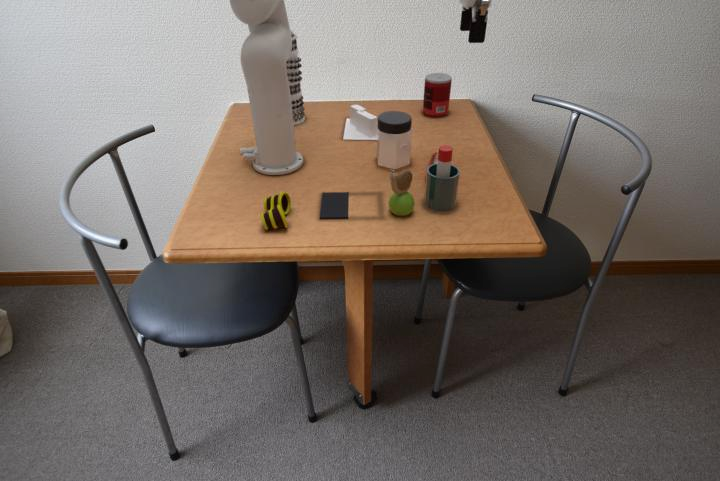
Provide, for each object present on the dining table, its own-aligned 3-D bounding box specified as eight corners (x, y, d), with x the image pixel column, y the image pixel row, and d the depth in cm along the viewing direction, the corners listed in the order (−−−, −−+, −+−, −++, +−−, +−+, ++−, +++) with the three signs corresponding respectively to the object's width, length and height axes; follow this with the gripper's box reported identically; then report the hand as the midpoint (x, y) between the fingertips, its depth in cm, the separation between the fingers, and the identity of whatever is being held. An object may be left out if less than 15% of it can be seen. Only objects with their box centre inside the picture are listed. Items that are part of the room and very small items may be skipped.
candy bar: (432, 157, 122) (433, 147, 120) (446, 159, 121) (448, 148, 119) (423, 189, 109) (424, 177, 108) (438, 191, 109) (440, 179, 107)
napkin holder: (384, 139, 131) (384, 120, 127) (343, 139, 131) (342, 119, 128) (383, 118, 143) (384, 99, 139) (346, 118, 143) (345, 99, 140)
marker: (434, 206, 103) (439, 151, 95) (432, 199, 105) (437, 145, 97) (447, 205, 103) (453, 151, 95) (445, 199, 105) (451, 145, 97)
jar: (388, 173, 115) (389, 127, 108) (369, 161, 121) (369, 116, 114) (417, 164, 119) (420, 118, 112) (397, 151, 125) (399, 107, 117)
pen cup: (426, 213, 101) (429, 178, 96) (422, 196, 107) (425, 163, 102) (457, 213, 101) (462, 178, 96) (452, 196, 107) (456, 162, 102)
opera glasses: (270, 210, 104) (262, 191, 101) (293, 205, 104) (286, 186, 101) (265, 236, 97) (256, 216, 94) (290, 231, 96) (282, 211, 93)
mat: (319, 219, 100) (319, 217, 100) (322, 194, 108) (322, 192, 108) (381, 218, 100) (381, 216, 100) (379, 193, 108) (379, 191, 108)
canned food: (452, 111, 147) (456, 75, 140) (441, 119, 141) (445, 83, 135) (429, 106, 150) (432, 71, 143) (418, 114, 145) (420, 78, 138)
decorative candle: (271, 117, 144) (260, 29, 129) (300, 111, 147) (292, 25, 132) (280, 128, 138) (269, 37, 122) (310, 122, 141) (303, 33, 126)
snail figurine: (379, 215, 101) (380, 165, 94) (399, 204, 104) (402, 154, 97) (398, 226, 98) (401, 175, 90) (419, 214, 101) (423, 163, 94)
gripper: (455, -63, 97) (447, 26, 107) (472, -54, 83) (460, 48, 93) (492, -64, 97) (480, 26, 107) (514, -55, 83) (498, 47, 93)
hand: (471, 36), depth 100 cm, fingers open, 9 cm apart
